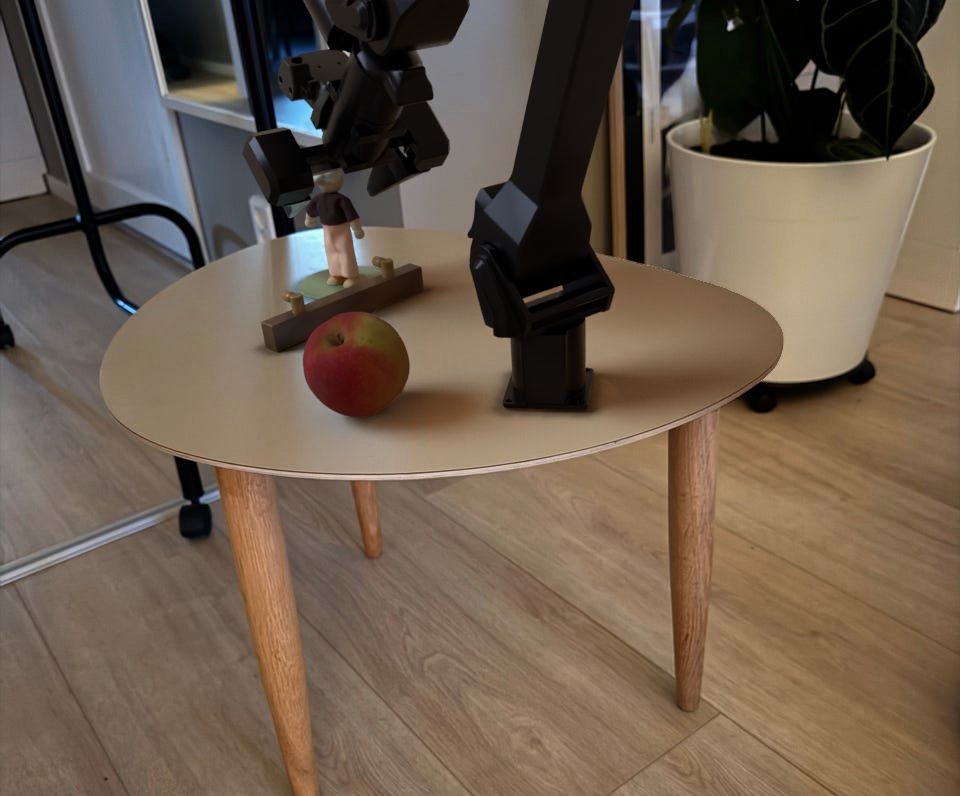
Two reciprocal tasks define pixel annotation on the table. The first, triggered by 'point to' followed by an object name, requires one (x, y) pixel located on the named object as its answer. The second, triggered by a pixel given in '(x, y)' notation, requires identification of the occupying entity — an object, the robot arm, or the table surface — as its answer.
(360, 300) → the hook rail
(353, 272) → the grandmother figurine
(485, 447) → the table surface
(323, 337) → the apple
